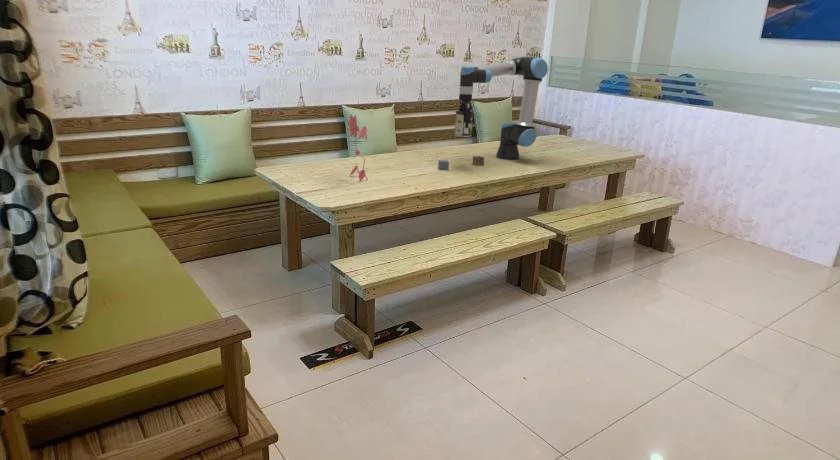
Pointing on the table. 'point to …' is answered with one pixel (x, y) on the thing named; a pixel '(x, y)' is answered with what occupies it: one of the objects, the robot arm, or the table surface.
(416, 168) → the table surface
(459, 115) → the coffee can
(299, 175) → the table surface
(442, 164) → the blue-gray block
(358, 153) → the red plant
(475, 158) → the walnut block
